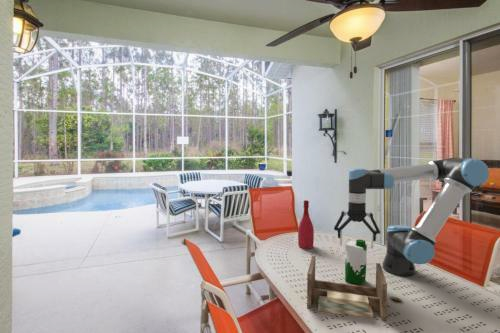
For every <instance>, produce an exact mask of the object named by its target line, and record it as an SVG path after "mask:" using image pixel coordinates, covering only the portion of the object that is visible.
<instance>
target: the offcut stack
mask: <svg viewBox="0 0 500 333" xmlns="http://www.w3.org/2000/svg"><path fill="white" fill-rule="evenodd" d="M331 291H332V290H331ZM331 291H327V297H325V296H319V300H318V301H317V311H318V312H324V313H331V314H332V313H333V314H339V315H340V314H341V315H347V316H348V315H349V316H356V317H357V316H358V317H363V318H364V317H365V318H371V319H372V318H374V312H373V311H374V310H372V309H371V306H369V301H368V297H367V296H368V295H365V296H361V295H362V294H358V295H353V294H354V293H351V294H346V293H347V292H345V293H338V292H339V291H338V292H331Z"/></svg>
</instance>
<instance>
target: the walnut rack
mask: <svg viewBox="0 0 500 333" xmlns="http://www.w3.org/2000/svg"><path fill="white" fill-rule="evenodd" d="M375 265H376V266H375V287H370V286H365V285H361V286H359V285H355V284H352V283H350V284H349V283H343V282H342V283H341V282H336V281H335V282H334V281H329V280H321V279H320V280H319V279H316V255H312V256H311V258H310V263H309V267H308V270H307V278H306V279H307V280H306V281H307V283H306V286H307V287H306V289H307V290H306V307H307V309H312V304H313V301H314V302H318V300H319V296H325V297H327V291H331V292H338V293H346V294H353V295H361V296H367V297H368V301H369V306H371V309H372V311H375V312H379V316H380V320H381V321H382V322H387V300H388V298H387V295H388V283H387V280H386V277H385V274H384V271H383V267H382V265H381V263H380V262H379V263H377V262H376V263H375Z"/></svg>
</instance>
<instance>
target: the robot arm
mask: <svg viewBox="0 0 500 333" xmlns="http://www.w3.org/2000/svg"><path fill="white" fill-rule="evenodd" d="M489 177H490V171H489V167H488V164H486V163H485V162H484V161H482V160H481V159H478V158H473V157H469V158H466V157H465V158H464V157H463V158H462V157H448V158H444V159H437V160H430V161H428V162H427V163H422V164H414V165H413V164H412V165H405V166H398V167H387V168H380V169H372V170H371V169H365V168H351V169H349V173H348V204H347V208H348V210H347V211H344V210H341V212H340V213H341V214H340V216H339V218H338V219H337V221H336V223H335V225H334V227H333V230H334V231H337V238H338V239H340V240H339V241H340V242H339V244H340V245H339V246H341V247H342V246H343V230H344V229H345V228H346V226H348V224H350V223H351V222H355V223H357V222H358V223H360V222H363V224H364V225H365V226H366V227H367V228H368V229H369V231H371V233H370V248H371V249H374V242H376V240H377V235H380V234H381V231H380V228H379V226H378V224H377V222H376V221H375V218H374V214H373V211H371V212H366V207H367V206H366V205H367V203H366V202H367V201H366V197H367V194H366V193H367V190H391V189H392V188H393V187H394V185H395V183H401V182H410V181H419V180H428V179H430V180H432V181H439V180H440V181H444V185H443V186H442V188H441V189H440V190H439V192H438V193H437V195H436V196H435V198H434V200H433V201H432V202H431V204H430V205H429V206H428V208H427V210H426V211H425V212H424V214H423V216H422V217H421V219H419V221H418V223H417V224H416V225H415V226H409V225H399V224H397V225H396V224H395V225H393V224H392V225H389V226H387V229H386V253H385V256H384V258H383V260H382V265H381V268H382V270H384V271H385V272H387V273H390V274H393V275H395V276H400V277H401V276H403V277H411V276H414V275H415V274H416V265H425V264H428V263H430V262H431V261H432V260H433V259H434V258H435V254H436V251H435V247H434V246H435V245H436V244H437V241H436V236H437V235H438V234H439V232H440V231H441V229H442V228H443V227H444V225H445V224H446V223H447V221H448V219H449V218H450V216H451V215H452V214H453V212H454V210H455V209H456V208H457V206H458V205H459V203H460V202H461V201H462V199H463V197H464V196H465V195H466V194H468V193H472V192H473V190H474V189H475V188H476V187H479V186H483V185H484V184H486V182H488V180H489ZM346 215H347V216H348V217H347V219H346V220H345V221H344V222H343V223H342V220H343V219H344V217H345V216H346ZM366 217H368V218H369V219H370V221H371V222H372V225H373V226H372V225H370V223H369V222H368V221H367V219H366ZM341 223H342V224H341ZM340 224H341V225H340ZM373 227H374V228H375V229H374V228H373Z"/></svg>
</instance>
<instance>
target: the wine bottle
mask: <svg viewBox="0 0 500 333" xmlns="http://www.w3.org/2000/svg"><path fill="white" fill-rule="evenodd" d="M309 205H310V201H309V200H308V199H305V200H303V214H302V217H301V219H300V221H299V224H298V226H297V227H298V229H297V243H298V244H297V245H298V247H300V248H301V249H306V250H310V249H313V247H314V240H315V238H314V237H315V230H314V224H313V222H312V220H311V217H310V214H309V213H310V212H309V207H310V206H309Z"/></svg>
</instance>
